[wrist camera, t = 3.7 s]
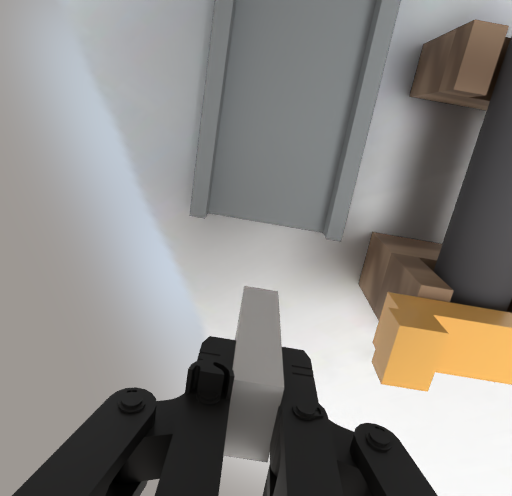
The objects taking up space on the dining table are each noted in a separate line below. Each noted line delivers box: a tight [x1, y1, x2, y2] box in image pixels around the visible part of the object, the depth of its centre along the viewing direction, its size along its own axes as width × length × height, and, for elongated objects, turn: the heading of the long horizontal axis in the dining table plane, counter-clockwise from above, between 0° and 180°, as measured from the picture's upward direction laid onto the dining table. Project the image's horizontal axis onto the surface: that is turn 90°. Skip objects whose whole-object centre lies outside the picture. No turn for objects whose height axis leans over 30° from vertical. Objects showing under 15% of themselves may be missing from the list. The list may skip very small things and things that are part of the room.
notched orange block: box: [372, 292, 512, 392], centre depth 18 cm, size 3×10×3 cm, turn 80°
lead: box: [433, 36, 512, 312], centre depth 20 cm, size 19×4×4 cm, turn 170°
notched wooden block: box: [359, 232, 512, 321], centre depth 24 cm, size 4×16×9 cm, turn 80°
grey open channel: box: [190, 0, 401, 241], centre depth 23 cm, size 21×10×2 cm, turn 170°
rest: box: [409, 20, 511, 110], centre depth 22 cm, size 3×8×6 cm, turn 80°
